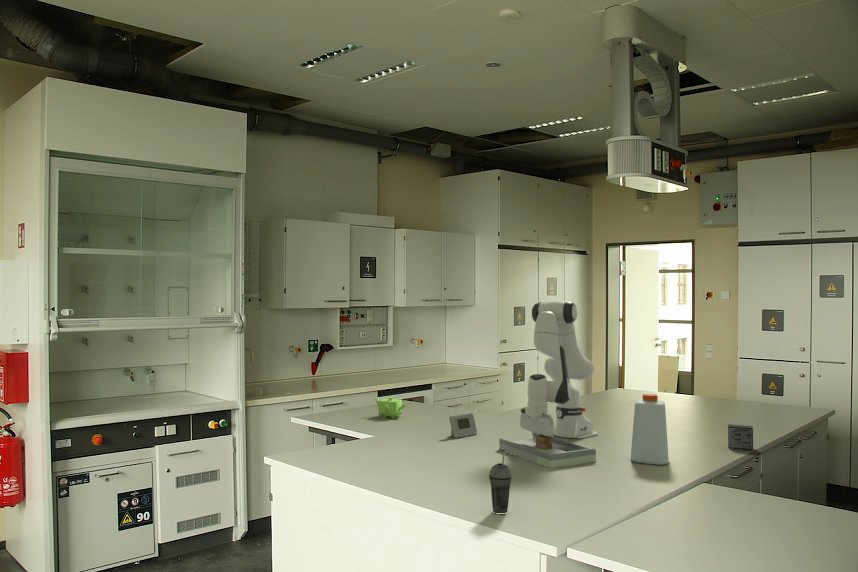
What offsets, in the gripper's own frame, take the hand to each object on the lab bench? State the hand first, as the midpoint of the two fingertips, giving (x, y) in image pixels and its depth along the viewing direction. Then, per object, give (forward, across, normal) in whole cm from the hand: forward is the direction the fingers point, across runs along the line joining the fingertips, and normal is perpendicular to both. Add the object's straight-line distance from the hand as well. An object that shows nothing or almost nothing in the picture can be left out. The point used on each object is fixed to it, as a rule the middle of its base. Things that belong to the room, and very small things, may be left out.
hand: (536, 442), depth 293 cm
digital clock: (+5, +44, +11) cm, 45 cm away
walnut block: (+1, -5, 0) cm, 5 cm away
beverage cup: (+5, -60, +61) cm, 85 cm away
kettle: (+4, +104, +23) cm, 106 cm away
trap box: (+4, -6, 0) cm, 7 cm away
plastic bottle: (+4, -32, -35) cm, 48 cm away
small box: (+4, -35, -91) cm, 98 cm away
